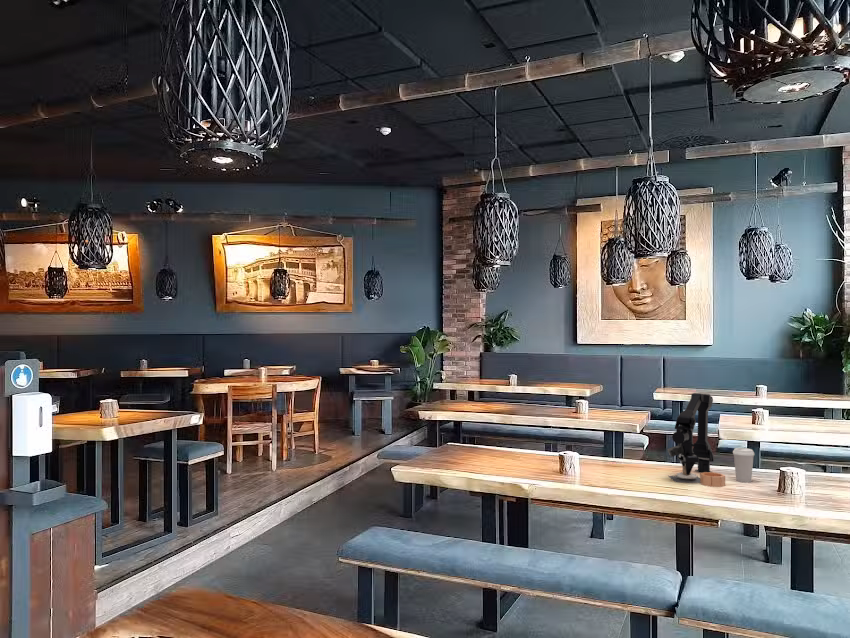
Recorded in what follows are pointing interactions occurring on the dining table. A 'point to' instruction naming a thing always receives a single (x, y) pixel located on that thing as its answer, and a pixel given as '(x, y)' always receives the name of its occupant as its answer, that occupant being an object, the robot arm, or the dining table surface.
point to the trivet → (684, 480)
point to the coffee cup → (743, 464)
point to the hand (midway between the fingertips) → (686, 473)
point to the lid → (684, 475)
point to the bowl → (712, 479)
